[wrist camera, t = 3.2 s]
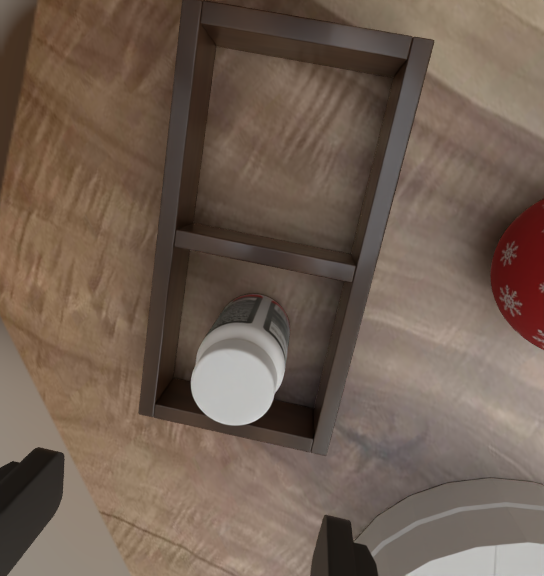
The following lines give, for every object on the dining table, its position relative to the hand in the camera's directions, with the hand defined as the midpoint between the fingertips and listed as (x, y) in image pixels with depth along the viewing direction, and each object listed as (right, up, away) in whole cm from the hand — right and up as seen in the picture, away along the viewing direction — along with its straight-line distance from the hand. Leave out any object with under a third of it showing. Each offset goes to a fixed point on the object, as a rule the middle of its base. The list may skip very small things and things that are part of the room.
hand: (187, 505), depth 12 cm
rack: (+2, +9, +13) cm, 16 cm away
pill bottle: (+1, +4, +15) cm, 16 cm away
